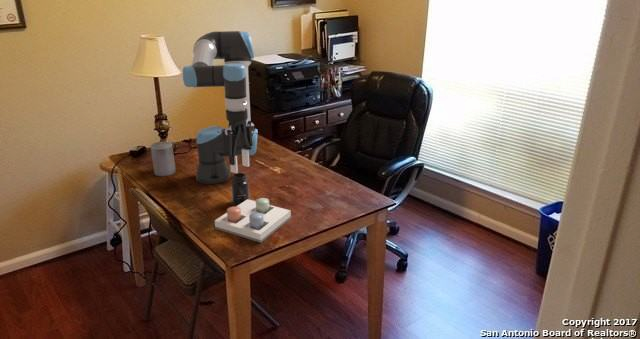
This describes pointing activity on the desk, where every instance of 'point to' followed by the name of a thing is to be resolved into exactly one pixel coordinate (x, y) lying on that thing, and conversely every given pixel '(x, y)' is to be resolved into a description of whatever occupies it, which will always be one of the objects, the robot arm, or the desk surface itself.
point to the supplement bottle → (240, 189)
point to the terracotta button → (234, 214)
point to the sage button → (262, 205)
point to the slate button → (256, 220)
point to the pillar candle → (163, 158)
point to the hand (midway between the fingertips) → (240, 168)
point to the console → (242, 228)
